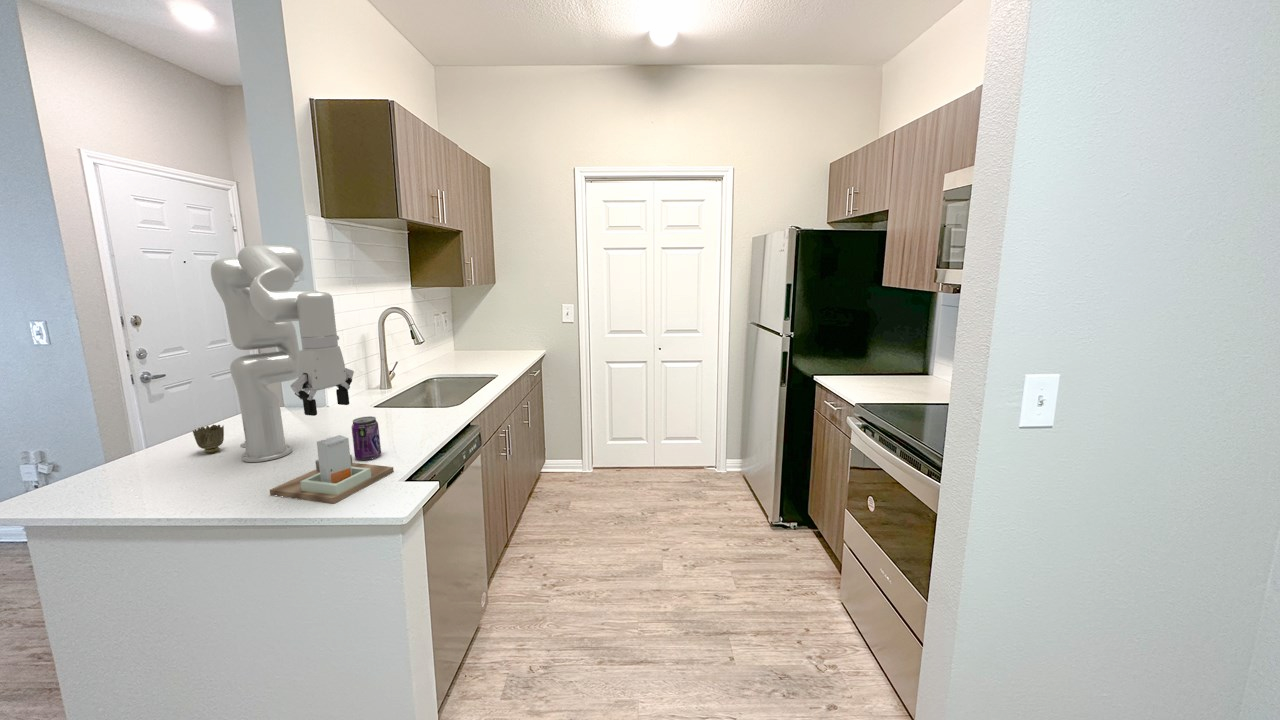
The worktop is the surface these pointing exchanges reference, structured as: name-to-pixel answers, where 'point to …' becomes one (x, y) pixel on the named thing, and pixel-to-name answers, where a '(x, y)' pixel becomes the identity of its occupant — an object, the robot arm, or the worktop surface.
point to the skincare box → (334, 459)
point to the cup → (209, 438)
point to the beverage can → (366, 438)
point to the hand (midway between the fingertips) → (327, 409)
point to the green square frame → (335, 489)
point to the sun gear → (318, 464)
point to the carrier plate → (295, 491)
